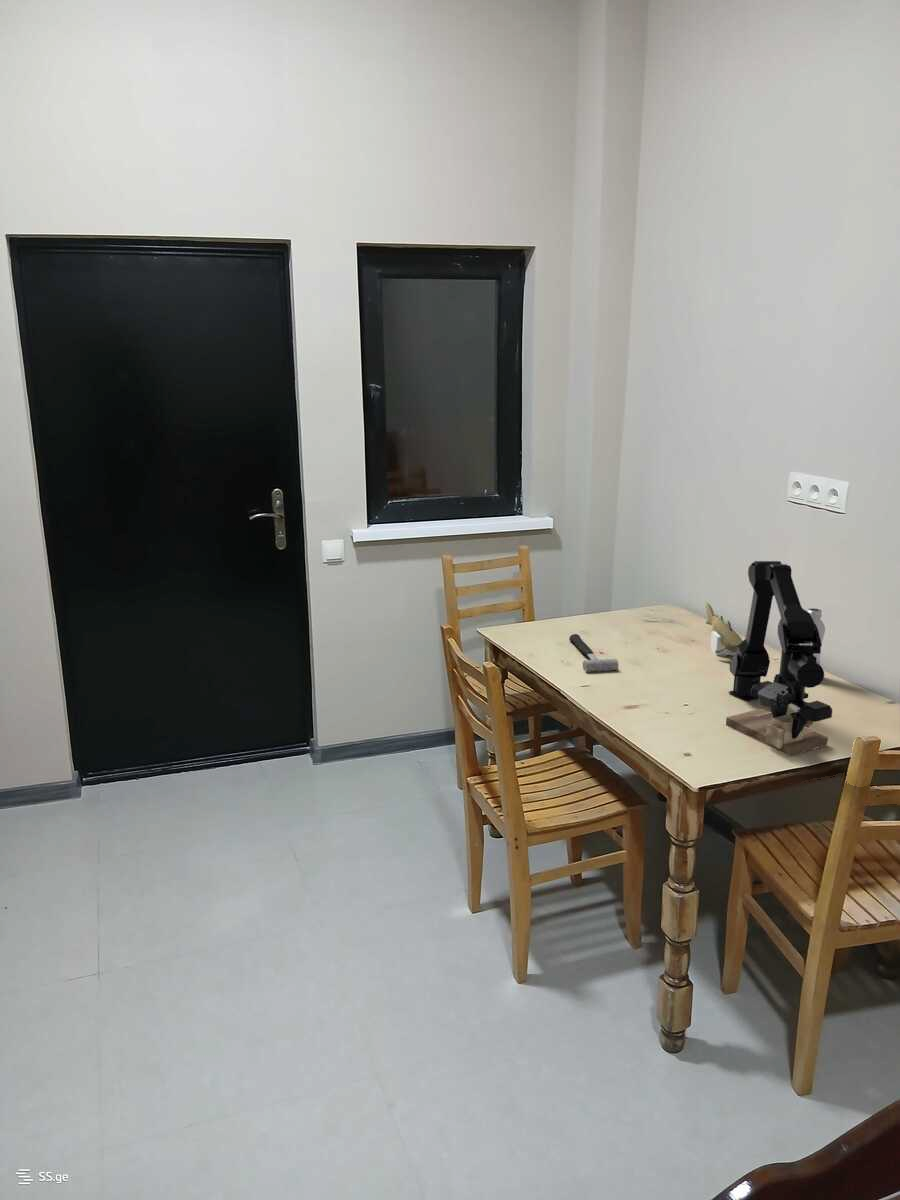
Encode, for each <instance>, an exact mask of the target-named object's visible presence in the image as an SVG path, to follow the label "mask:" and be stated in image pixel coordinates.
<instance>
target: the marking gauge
mask: <svg viewBox="0 0 900 1200" xmlns="http://www.w3.org/2000/svg"><path fill="white" fill-rule="evenodd" d="M792 725H793V718H792V717H791V715H790V713H786V715H783V716H779V717H775V718H772V724H768V725H767V732H766V743H768V744H770V745H772V746H775V747H777V748H779V749H780V748H782V745H784V744H788V743H791V742H795V741H799V740H802V738H803V729H804V728H803V729H802V731H801V732H800V734H799V735H798V737H797V738H795V739H793V738H792ZM812 725H814V722H812V721H808V722H807V723H806V725H805V726H804V727H805V728H810V726H812Z"/></svg>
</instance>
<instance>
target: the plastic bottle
mask: <svg viewBox="0 0 900 1200" xmlns="http://www.w3.org/2000/svg"><path fill="white" fill-rule="evenodd" d="M807 612H808V613H810V615H811V617H812V619H813V621H814V623H815V624H816V626H817V629H818V631H819V636H820V640H821V644H822V643H823V640H824V636H825V633H826V626H825V624H824V622H823V620H822V619H821V618H822V617H823V615H822V613H823V612H822V609H820V608H808V609H807ZM800 645H813V644H812V642H811V643H810V644H800ZM822 645H823V644H822ZM820 650H822V646H821V647H820ZM813 656H815V657H816V662H817V663H818V664H819V665H820V666H821V665H822V664H821V653H814V654H813ZM821 667H822V666H821Z"/></svg>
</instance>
